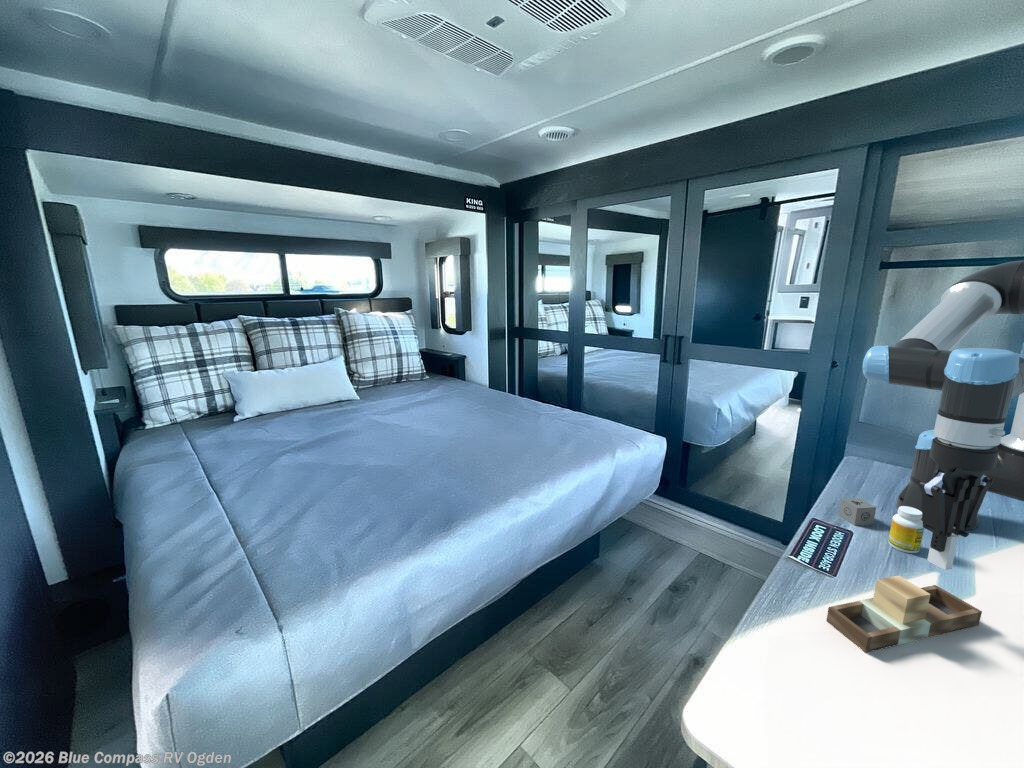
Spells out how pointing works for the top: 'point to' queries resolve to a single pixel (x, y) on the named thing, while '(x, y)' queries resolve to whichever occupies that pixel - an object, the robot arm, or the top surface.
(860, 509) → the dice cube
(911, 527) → the supplement bottle
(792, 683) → the top surface
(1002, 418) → the robot arm
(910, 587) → the oak block
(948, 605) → the board
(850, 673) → the top surface
